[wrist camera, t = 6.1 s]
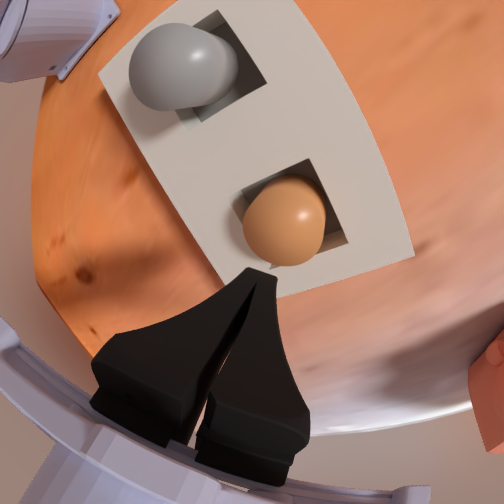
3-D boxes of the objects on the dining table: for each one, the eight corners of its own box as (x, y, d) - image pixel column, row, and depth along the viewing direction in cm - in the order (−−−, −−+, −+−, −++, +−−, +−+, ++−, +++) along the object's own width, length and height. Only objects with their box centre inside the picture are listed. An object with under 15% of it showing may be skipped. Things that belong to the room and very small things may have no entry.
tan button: (278, 245, 22) (266, 275, 19) (247, 190, 20) (228, 211, 17) (337, 224, 20) (336, 252, 16) (308, 162, 18) (300, 179, 15)
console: (250, 286, 26) (240, 307, 23) (122, 72, 19) (97, 74, 16) (406, 235, 19) (415, 255, 17) (265, -30, 12) (253, -46, 10)
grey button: (189, 119, 17) (154, 128, 13) (156, 63, 15) (116, 62, 12) (253, 80, 14) (229, 76, 11) (214, 20, 13) (181, 5, 9)
